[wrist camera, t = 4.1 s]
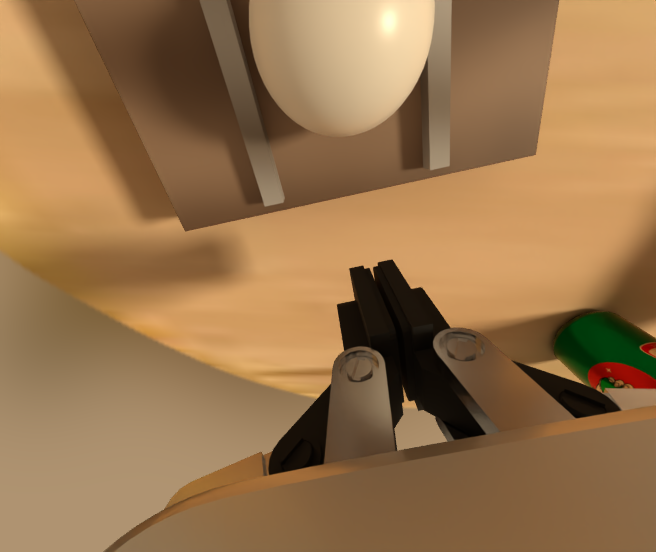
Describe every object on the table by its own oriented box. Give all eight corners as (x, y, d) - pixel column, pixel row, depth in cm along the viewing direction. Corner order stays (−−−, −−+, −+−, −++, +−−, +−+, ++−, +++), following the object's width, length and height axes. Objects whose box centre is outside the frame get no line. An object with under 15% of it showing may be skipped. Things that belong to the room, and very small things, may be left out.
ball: (243, -21, 9) (179, -157, 5) (396, -61, 9) (483, -246, 4) (285, 146, 11) (270, 161, 7) (406, 118, 11) (468, 115, 7)
